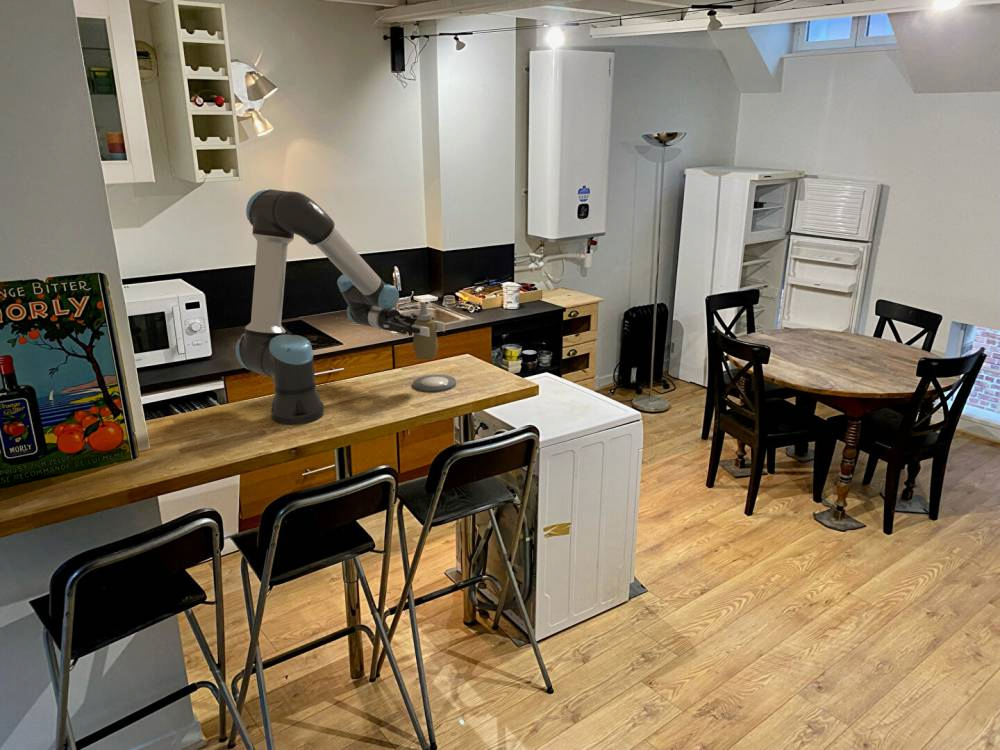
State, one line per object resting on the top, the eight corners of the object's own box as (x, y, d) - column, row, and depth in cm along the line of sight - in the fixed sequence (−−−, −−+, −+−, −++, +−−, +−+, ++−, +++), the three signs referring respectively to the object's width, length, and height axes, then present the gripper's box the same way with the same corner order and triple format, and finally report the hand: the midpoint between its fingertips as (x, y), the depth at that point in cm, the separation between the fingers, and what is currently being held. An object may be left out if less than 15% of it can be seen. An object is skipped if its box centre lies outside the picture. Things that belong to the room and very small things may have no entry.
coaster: (405, 388, 245) (405, 385, 245) (426, 375, 257) (426, 372, 257) (444, 394, 240) (443, 390, 239) (463, 380, 252) (463, 377, 251)
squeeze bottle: (439, 353, 246) (437, 299, 240) (437, 361, 239) (434, 305, 233) (415, 353, 246) (412, 299, 240) (411, 361, 239) (408, 305, 233)
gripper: (406, 322, 258) (457, 334, 245) (363, 335, 244) (415, 348, 230) (405, 301, 256) (456, 311, 242) (362, 313, 241) (414, 324, 228)
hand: (436, 329), depth 236 cm, fingers closed on squeeze bottle, 6 cm apart
